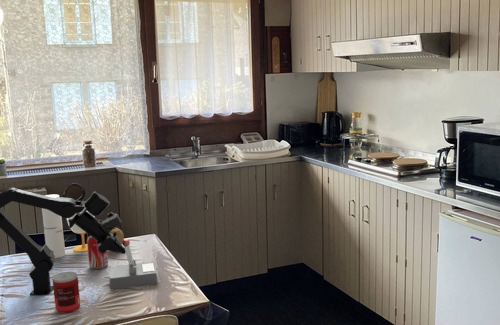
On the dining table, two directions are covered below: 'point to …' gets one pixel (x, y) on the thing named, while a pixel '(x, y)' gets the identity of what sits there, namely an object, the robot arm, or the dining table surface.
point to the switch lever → (128, 252)
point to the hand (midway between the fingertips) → (125, 252)
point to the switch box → (133, 275)
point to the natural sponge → (118, 234)
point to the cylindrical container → (53, 231)
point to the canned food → (66, 292)
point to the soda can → (96, 255)
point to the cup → (79, 231)
